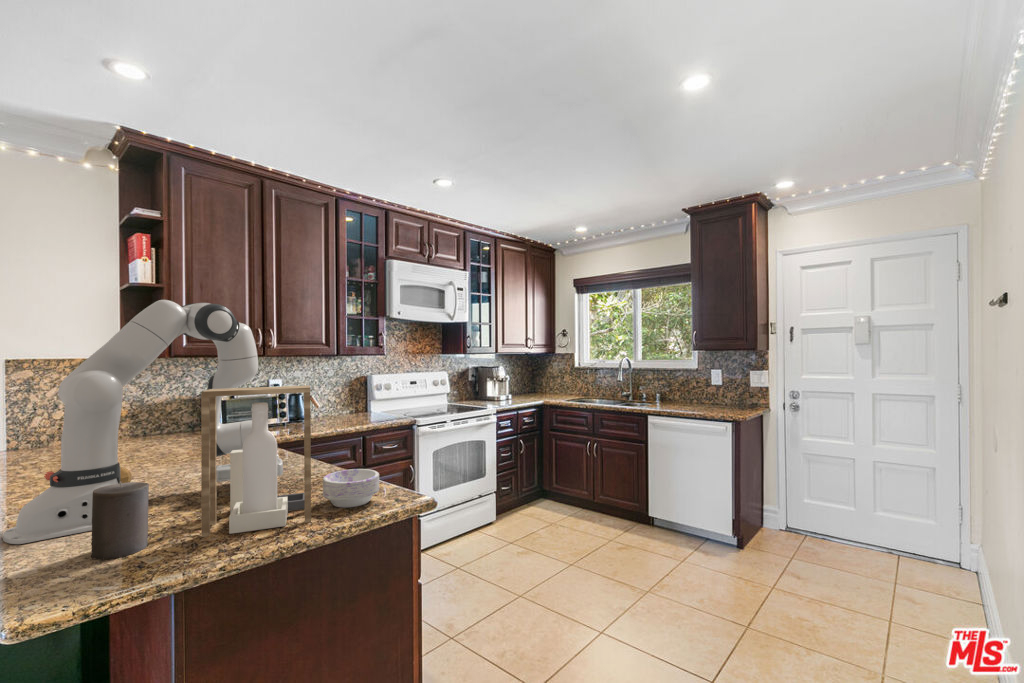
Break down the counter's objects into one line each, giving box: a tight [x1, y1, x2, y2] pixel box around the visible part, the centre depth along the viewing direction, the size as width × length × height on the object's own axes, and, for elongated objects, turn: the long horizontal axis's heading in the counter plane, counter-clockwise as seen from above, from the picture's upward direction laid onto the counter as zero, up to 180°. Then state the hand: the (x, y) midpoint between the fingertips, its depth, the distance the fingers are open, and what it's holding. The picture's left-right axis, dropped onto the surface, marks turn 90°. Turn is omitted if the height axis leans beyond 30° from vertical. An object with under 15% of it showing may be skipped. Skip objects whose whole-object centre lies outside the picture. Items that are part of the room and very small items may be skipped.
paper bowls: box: [322, 468, 380, 509], centre depth 136 cm, size 15×15×8 cm
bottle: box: [242, 402, 278, 514], centre depth 121 cm, size 8×8×30 cm
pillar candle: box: [90, 481, 150, 561], centre depth 105 cm, size 10×10×15 cm
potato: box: [119, 466, 133, 484], centre depth 153 cm, size 10×14×8 cm
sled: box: [228, 450, 289, 535], centre depth 125 cm, size 22×14×16 cm, turn 23°
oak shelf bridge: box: [200, 384, 312, 538], centre depth 121 cm, size 10×24×34 cm, turn 113°
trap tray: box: [277, 492, 305, 512], centre depth 132 cm, size 8×14×2 cm, turn 113°
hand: (243, 476), depth 138 cm, fingers closed
